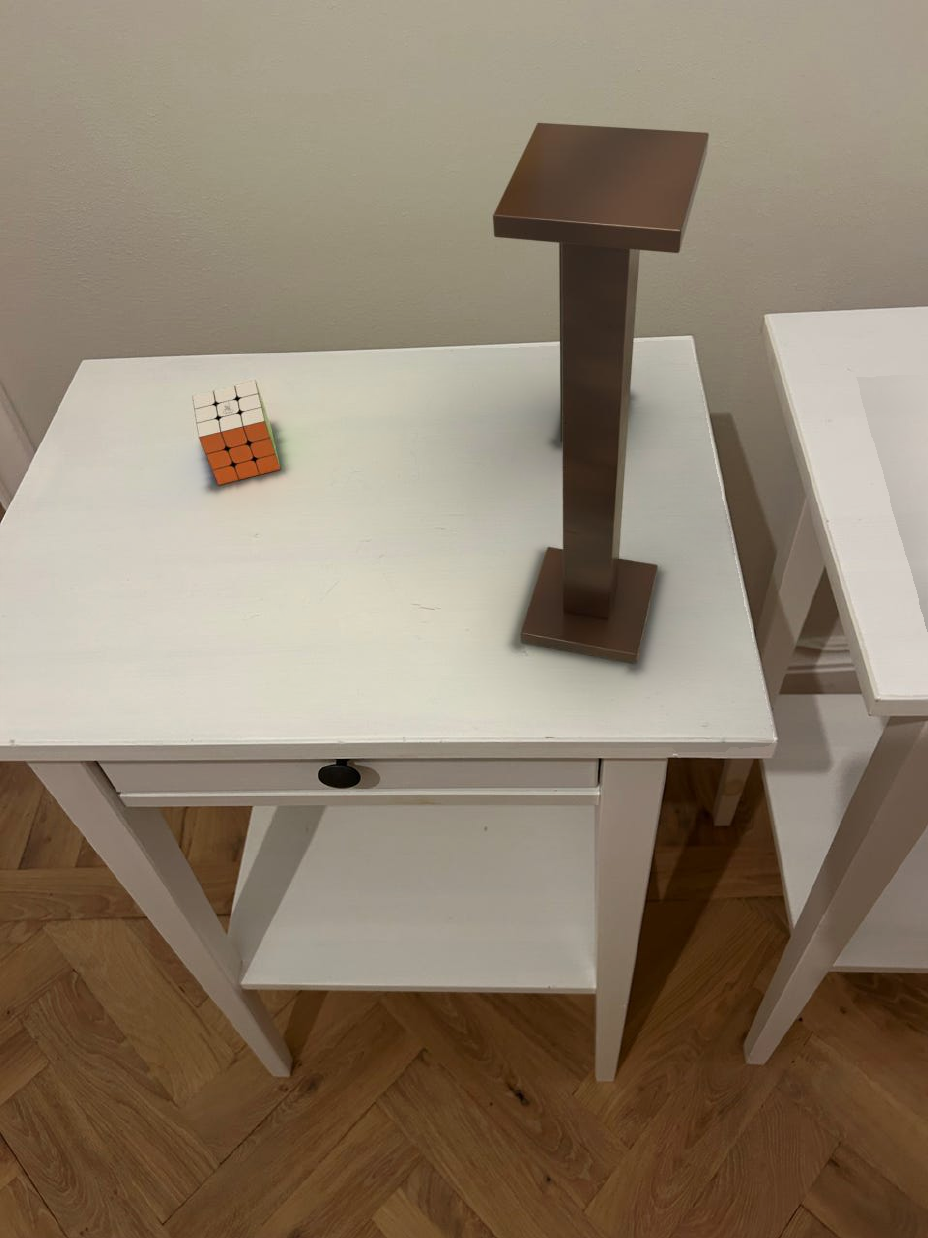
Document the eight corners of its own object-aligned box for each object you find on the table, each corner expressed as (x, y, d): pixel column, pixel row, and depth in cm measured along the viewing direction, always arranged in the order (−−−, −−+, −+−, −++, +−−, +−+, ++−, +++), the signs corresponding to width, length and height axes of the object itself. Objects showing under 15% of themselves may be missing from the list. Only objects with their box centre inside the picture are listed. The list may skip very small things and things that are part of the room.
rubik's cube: (272, 428, 78) (256, 379, 74) (280, 470, 75) (265, 421, 71) (211, 443, 77) (191, 394, 73) (217, 485, 74) (197, 437, 70)
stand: (657, 573, 65) (709, 131, 41) (636, 664, 61) (681, 230, 37) (547, 555, 67) (537, 121, 43) (520, 642, 63) (491, 214, 39)
